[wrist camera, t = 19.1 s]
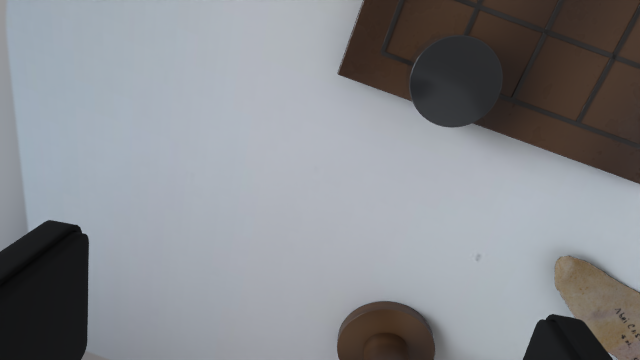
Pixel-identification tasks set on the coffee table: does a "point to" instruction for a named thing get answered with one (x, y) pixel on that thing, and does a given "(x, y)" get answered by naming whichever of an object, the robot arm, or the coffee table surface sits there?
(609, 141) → the board
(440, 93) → the dark gray cylinder
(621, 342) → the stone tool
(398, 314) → the wooden peg stand
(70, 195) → the coffee table surface
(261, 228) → the coffee table surface
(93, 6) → the coffee table surface
